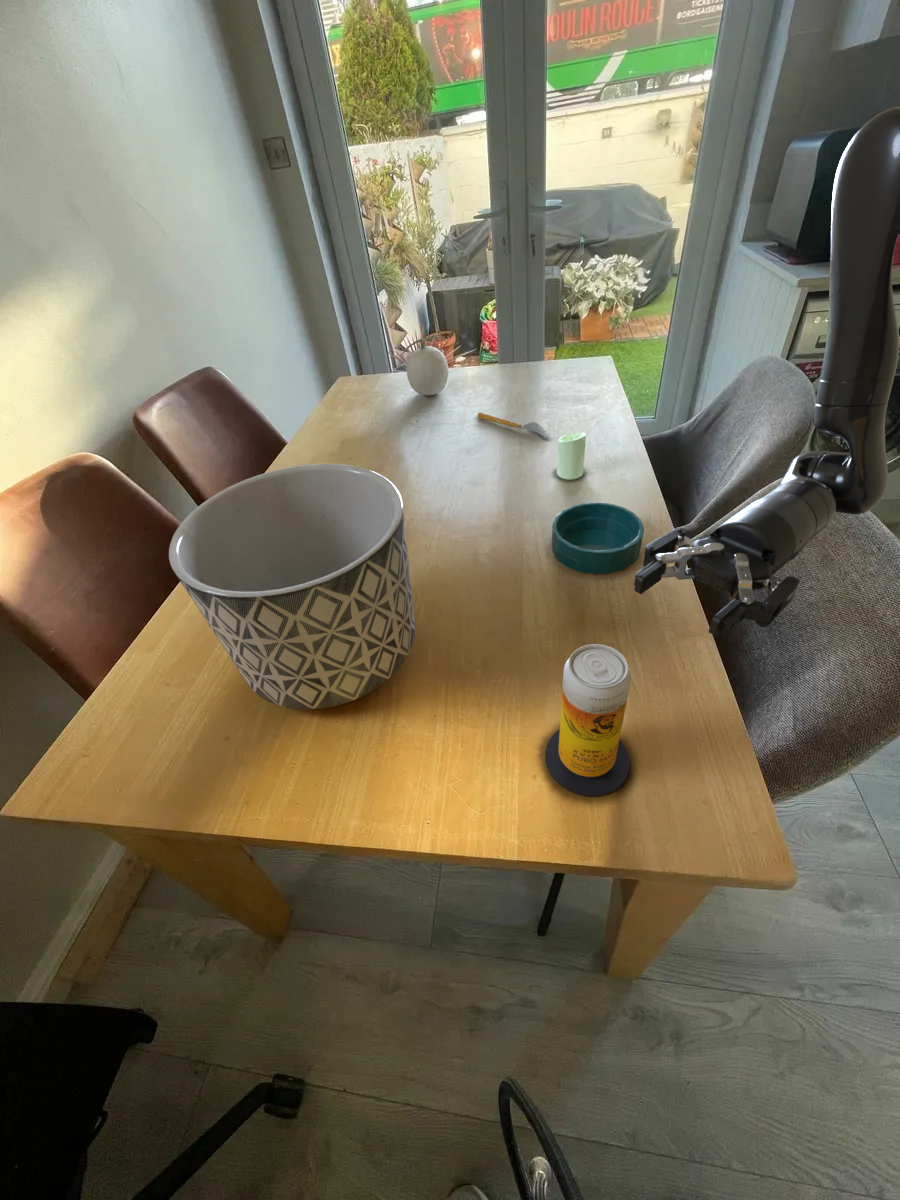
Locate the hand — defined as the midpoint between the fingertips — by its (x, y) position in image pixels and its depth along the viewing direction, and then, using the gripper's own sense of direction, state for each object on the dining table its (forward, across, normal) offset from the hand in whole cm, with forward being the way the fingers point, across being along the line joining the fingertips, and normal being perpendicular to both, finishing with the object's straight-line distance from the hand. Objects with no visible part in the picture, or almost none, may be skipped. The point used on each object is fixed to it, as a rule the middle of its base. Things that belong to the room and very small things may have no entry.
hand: (673, 606), depth 54 cm
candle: (-34, -44, +16) cm, 58 cm away
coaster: (+11, 0, +16) cm, 19 cm away
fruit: (-41, -98, +15) cm, 108 cm away
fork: (-41, -67, +15) cm, 80 cm away
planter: (+24, -35, +16) cm, 45 cm away
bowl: (-19, -24, +16) cm, 35 cm away
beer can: (+11, 0, +16) cm, 19 cm away
